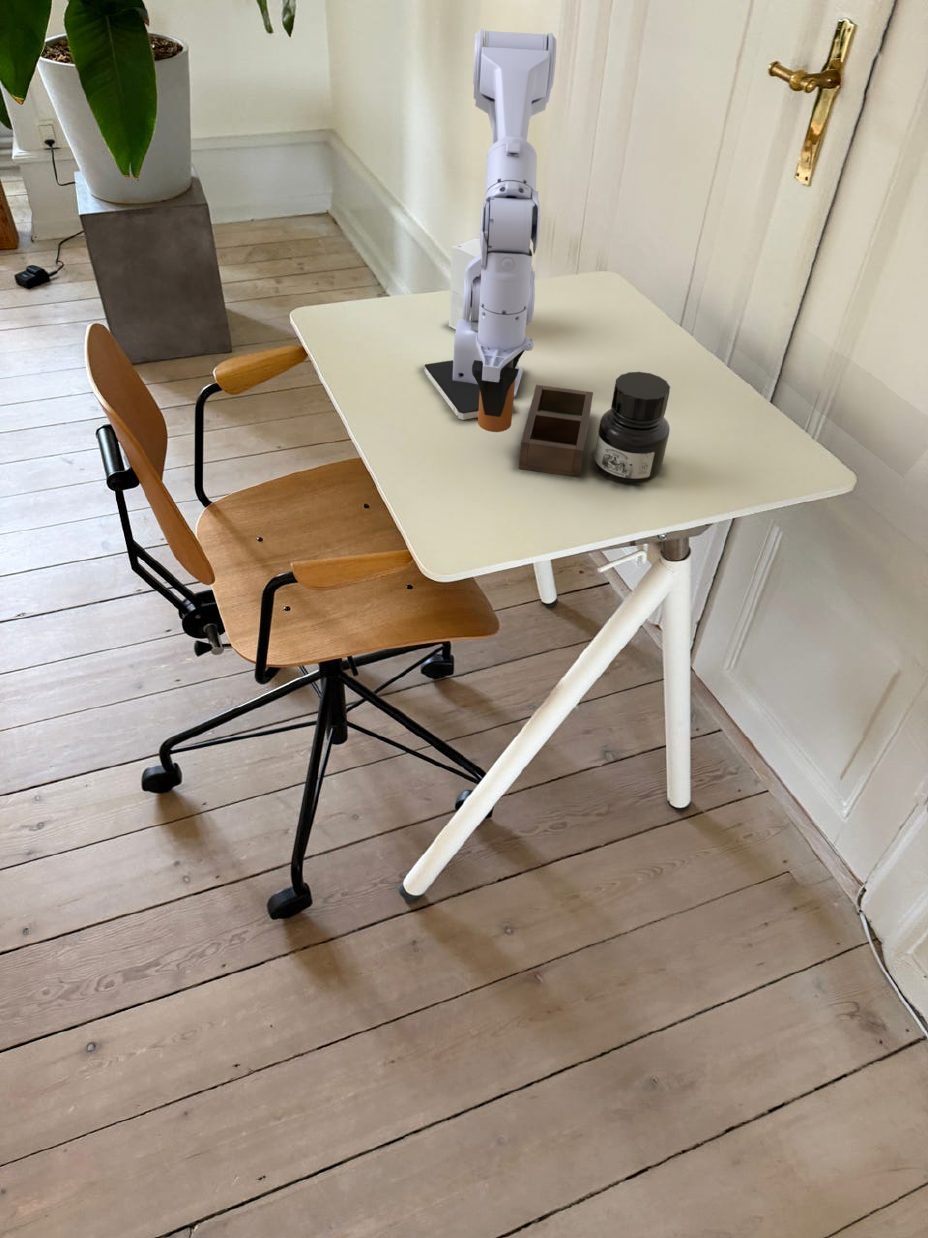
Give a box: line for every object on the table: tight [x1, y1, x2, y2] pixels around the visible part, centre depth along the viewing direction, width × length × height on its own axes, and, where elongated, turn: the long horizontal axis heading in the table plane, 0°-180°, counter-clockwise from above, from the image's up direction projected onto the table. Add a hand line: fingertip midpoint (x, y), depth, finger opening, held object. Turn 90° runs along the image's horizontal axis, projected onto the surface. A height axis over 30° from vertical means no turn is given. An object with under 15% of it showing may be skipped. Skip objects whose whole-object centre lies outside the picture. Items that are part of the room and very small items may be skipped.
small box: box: [448, 236, 481, 331], centre depth 146 cm, size 8×6×13 cm
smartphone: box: [424, 359, 480, 421], centre depth 135 cm, size 8×1×15 cm
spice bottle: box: [477, 359, 515, 433], centre depth 118 cm, size 4×4×10 cm
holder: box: [518, 384, 594, 478], centre depth 125 cm, size 8×15×4 cm, turn 169°
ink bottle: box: [593, 371, 671, 485], centre depth 118 cm, size 10×9×12 cm
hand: (495, 404), depth 119 cm, fingers closed on spice bottle, 4 cm apart
